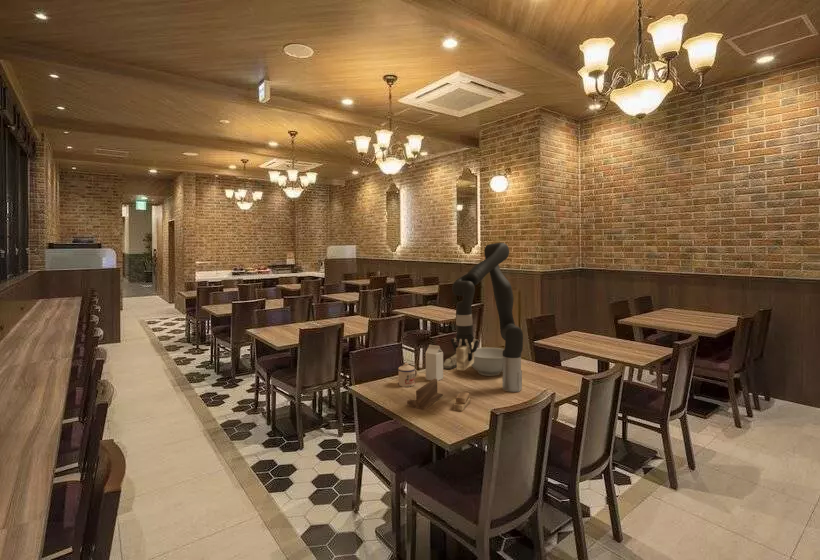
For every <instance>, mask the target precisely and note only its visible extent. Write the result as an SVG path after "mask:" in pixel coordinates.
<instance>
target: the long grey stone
mask: <svg viewBox="0 0 820 560" xmlns="http://www.w3.org/2000/svg"><path fill="white" fill-rule="evenodd" d="M454 368H457V361H456V353H455V354H453V355H451V356H450V357H448V358H446V359H445V360H444V361H443V369H445V370H448V369H451V370H452V369H454Z"/></svg>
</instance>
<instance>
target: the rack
mask: <svg viewBox="0 0 820 560" xmlns="http://www.w3.org/2000/svg"><path fill="white" fill-rule="evenodd" d="M443 396H444V394H443V393H440V392H439V393H438V381H437V379H433V380H429V381H428V382H427V383H426V384H424V385H423V386H421V387H420V388H418V389H417V390H416V391H415V399H410V398H409V399H408V400H407V401H406V403H407V405H406V407H412V408H416V409H418V410H424V411H425V410H427V409H428V408H429V407H431V406H432V405H433V404H434V403H435V402H437V401H439V400H440V398H442V397H443Z"/></svg>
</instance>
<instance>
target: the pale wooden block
mask: <svg viewBox="0 0 820 560" xmlns="http://www.w3.org/2000/svg"><path fill="white" fill-rule="evenodd" d="M471 345H472V349H473V347H474V341H472V343H471ZM455 354H456V361H457V366H456V371H466V370H467V369H468V368H469V367H472V366H471V365H472V364H473V363H474V352H473V353H472V360H471V361H468V347H467V346H465V345H462V346H459V345H458V347H457V348H456V351H455Z"/></svg>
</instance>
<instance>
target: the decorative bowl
mask: <svg viewBox="0 0 820 560" xmlns="http://www.w3.org/2000/svg"><path fill="white" fill-rule="evenodd" d="M504 349H505V348H499V347H490V346H488V347H485V346H484V347H477V350H476V351H475V352H474V363H473V364H472V365H471V366H470V367H472V368H473V369H474V370H475V371H477V372H478V374H479V375H481V376H485V377H486V376H487V377H495V376H499V375H500V374H501V372H503V350H504Z"/></svg>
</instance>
